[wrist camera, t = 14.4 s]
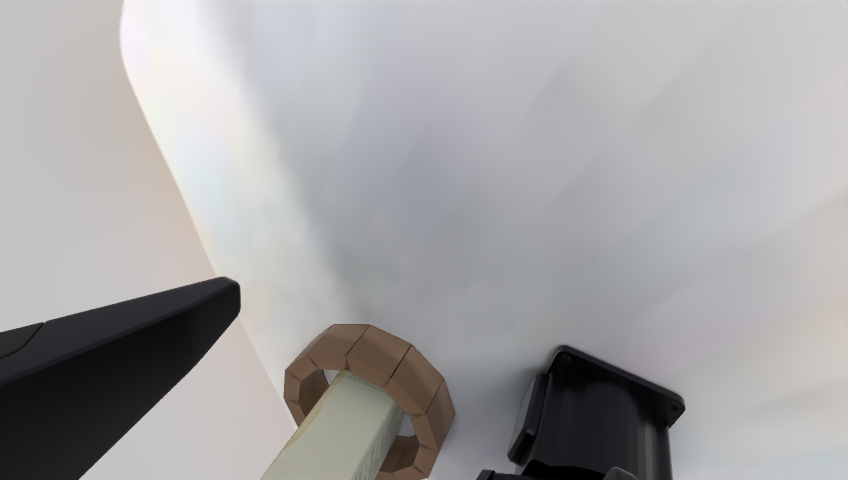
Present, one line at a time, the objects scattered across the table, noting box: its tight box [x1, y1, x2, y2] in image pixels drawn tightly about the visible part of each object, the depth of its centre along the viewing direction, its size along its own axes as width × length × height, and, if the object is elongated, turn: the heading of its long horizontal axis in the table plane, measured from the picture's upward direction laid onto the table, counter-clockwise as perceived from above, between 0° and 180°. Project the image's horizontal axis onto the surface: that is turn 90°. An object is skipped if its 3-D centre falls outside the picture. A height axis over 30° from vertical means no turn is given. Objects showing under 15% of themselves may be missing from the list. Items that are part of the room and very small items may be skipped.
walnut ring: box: [284, 324, 455, 480], centre depth 30 cm, size 11×11×3 cm
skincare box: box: [260, 370, 404, 480], centre depth 26 cm, size 6×4×12 cm
